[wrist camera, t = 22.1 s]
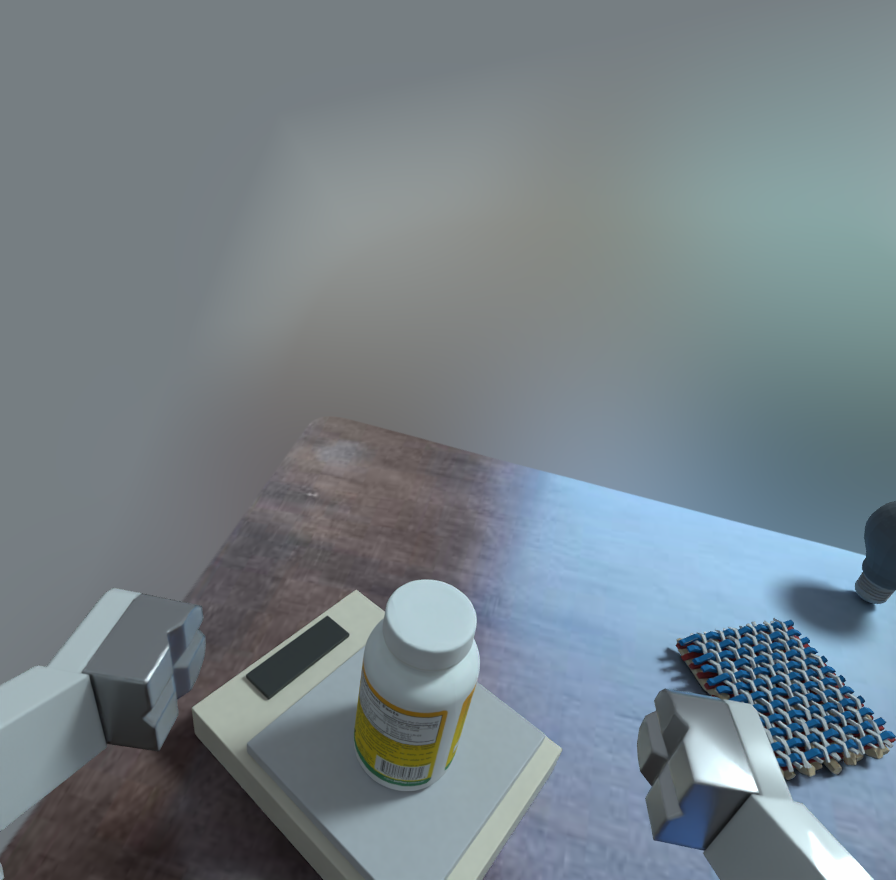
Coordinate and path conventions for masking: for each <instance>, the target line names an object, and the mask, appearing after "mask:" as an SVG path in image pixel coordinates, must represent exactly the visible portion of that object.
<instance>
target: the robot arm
mask: <svg viewBox="0 0 896 880" xmlns="http://www.w3.org/2000/svg"><path fill="white" fill-rule="evenodd" d="M202 621H203V612H202V606H200V605H195V604H190V603H185V602H181V601H176V600H171V599H166V598H161V597H157V596H152V595H147V594H143V593H137V592H132V591H127V590H121V589H116V588H112V589H111V590H109V591H108V592H107V593H105V594H104V595H102V597H101V598H100V599H99V601H98V602H97V603H96V604H95V606H94V607H93V608H92V609H91V611H90V612H89V613H88V614H87V616H86V617H85V618H84V619H83V621H82V622H81V623H80V625H79V626H78V627H77V629H76V630H75V631H74V632H73V633H72V635H71V636H70V637H69V638H68V640H67V641H66V642H65V643H64V645H63V646H62V647H61V649H60V650H59V651H58V652H57V654H56V655H55V656H54V657H53V659H52V660H51V661H50V662H49V664H48V665H47V666H46V667H45V666H38V665H37V666H35V667H33V668H31V669H29V670H27V671H26V672H24V673H22V674H20V675H18V676H16V677H14V678H13V679H11V680H9V681H7V682H5V683H3V684H1V685H0V832H1V831H2V830H3V829H4V828H6V827H7V826H8V825H9V824H11V823H12V822H13V821H15V820H16V819H17V818H18V817H19V816H21V815H22V814H23V813H25V812H26V811H27V810H28V809H30V808H31V807H32V806H33V805H35V804H36V803H37V802H38V801H40V800H41V799H42V798H43V797H45V796H46V795H47V794H49V793H50V792H51V791H52V790H54V789H55V788H56V787H57V786H59V785H60V784H61V783H62V782H64V781H65V780H66V779H67V778H69V777H70V776H71V775H72V774H74V773H75V772H76V771H77V770H79V769H80V768H81V767H83V766H84V765H85V764H86V763H88V762H89V761H90V760H91V759H93V758H94V757H95V756H96V755H98V754H99V753H100V752H101V751H103V750H104V749H105V748H106V747H107V744H112V745H119V746H126V747H132V748H139V749H146V750H152V751H159V750H160V748H161V746H162V745H163V743H164V741H165V739H166V737H167V735H168V733H169V731H170V729H171V727H172V726H173V724H174V722H175V720H176V718H177V716H178V706H177V699H179V698H180V697H182V696H183V695H185V694H186V693H188V692H189V691H191V689H192V687H193V685H194V683H195V681H196V679H197V677H198V675H199V672H200V669H201V666H202V663H203V660H204V654H205V647H206V644H205V636H204V635H203V633H202V632H201V631H200V630H199V629H198V628H199V626H200V624H201V623H202ZM654 702H655V707H656V711H655V712H652V713H650V714H648V715H646V716H645V718H644V720H643V722H642V724H641V726H640V728H639V734H638V741H637V752H638V761H639V767H640V772H641V773H642V774H643V776H644V777H645V778H646V780H647V781H648V782H649V783H650V785H651V786H652V787H651V789H650V790H649V792H648V794H647V796H646V798H645V799H646V804H647V809H648V814H649V819H650V824H651V829H652V835H653V840H656V841H660V842H665V843H670V844H675V845H680V846H684V847H689V848H694V849H699V850H704V853H703V854H704V855H705V857H706V859H707V860H708V862H709V863H710V865H711V866H712V868H713V869H714V871H715V872H716V874H717V876H718V877H719V879H720V880H874V879H873V878H872V877H871V876H870V875H869V874H868V873H867V872H866V871H865V870H864V869H863V868H862V866H861V865H860V864H859V863H858V862H857V861H856V860H855V859H854V858H853V857H852V856H851V855H850V854H849V853H848V852H847V850H846V849H845V848H844V847H843V846H842V845H841V844H840V843H839V842H838V841H837V840H836V839H835V838H834V837H833V835H832V834H831V833H830V832H829V831H828V830H827V829H826V828H825V827H824V826H823V825H822V824H821V823H820V822H819V821H818V819H817V818H816V817H815V816H814V815H813V814H812V813H811V812H810V811H809V810H808V809H807V808H806V807H805V806H804V804H803V803H799V802H795V801H793V799H792V797H791V794H790V792H789V789H788V787H787V784H786V782H785V779H784V777H783V774H782V772H781V769H780V767H779V764H778V762H777V759H776V757H775V754H774V752H773V749H772V747H771V744H770V742H769V739H768V737H767V734H766V732H765V729H764V727H763V724H762V722H761V719H760V717H759V714H758V712H757V710H756V709H755V708H754V707H753V706H752V704H748V703H743V702H737V701H731V700H725V699H720V698H718V697H712V696H706V695H700V694H694V693H688V692H682V691H676V690H670V689H664V690H662V691H660V692H659V693H658V695H657V697H656V698H655V700H654ZM3 878H4V875H3V868H2V865H1V863H0V880H3Z"/></svg>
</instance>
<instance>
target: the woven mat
mask: <svg viewBox="0 0 896 880" xmlns="http://www.w3.org/2000/svg"><path fill="white" fill-rule="evenodd" d="M774 621H775V622H774ZM751 623H752V625H753V626H751V625H750V624H749V623H748V624H747V625H746V626H744V627H742V626H739V627H740V629H739V630H737V629H735V628H731V627H728V628H729V629H727V630H726V629H725V628H724V629H723V632H721V631H719V630H716V631H717V632H718V633H716V632H712V631H710V632H708V633H706V632H704V634H701V633H698V634H693V633H691V634H690V635H691V636H689V637H687V638H684V639H681V638H679V639H677V644H676V647H677V648H678V651H679V652H680V654H681V658H682V660H683V661H685V662H686V664H687V665H688V667H689V668H690V670H691V671H692V673H693V674H694V676H695V677H696V679H697V680H698V682H699V683H700V685H701V686H702V688H703V689H704V690H705V691H706V692H708V693H709V694H710V695H712V697H718V698H720V699H725V700H731V701H737V702H743V703H748V704H752V706H753V707H754V708H755V709H756V710H757V712H758V714H759V717H760V719H761V722H762V724H763V727H764V729H765V732H766V734H767V737H768V739H769V742H770V744H771V747H772V749H773V752H774V754H775V757H776V759H777V762H778V764H779V767H780V769H781V772H782V774H783V777H785V778H786V779H787V780H790V779H792V778H794V777H795V775H796V774H795V773H794V770H793V768H796V769H797V770H798V771H799V772H800V773H802V774H805V775H808V776H813V775H815V770H818V769H821V768H823V767H822V764H821V763H822V762H823V763H824V764H825V766H826V767H827V768H828V769H829V770H830V771H831V772H832V773H834V774H838V773H839V772H840V771H841V770H842V767H841V766H840V765H839V763H838V762H837V761H840V760H841V759H843V760H844V763H845V764H847V765H856V762H857V761H860V760H861V759H862V758H863V755H864V754H865V753H866V754H867V755H868V756H871V757H874V758H877V759H879V758H882V757H883V755H885V754H887V753H888V752H889V751H890V750H889V749H888V748H887V747H886V745H887V746H888V747H890V748H892V747H893V745H892V743H893V742H894V741H895V740H896V739H895V737H896V736H895V735H894V734H893V733H892V732H890V731H884V732H882V733H881V732H880V731H882V730H884V729H885V728H884V727H883V726H882V725H884V724H885V723H886V722H885V721H884V720H883V719H882V718H878V719H876V720H874V721H873V716H872V714H874V712H873V711H872V710H871V709H870V708H866V707H863V706H864V705H863V703H864V702H865V700H864V699H863V698H862V697H861V696H858V697H857V698H856V697H855V696H853V695H852V693H853V692H854V691H853V690H852V689H851V687H847V686H844V685H845V684H844V683H843V682H845V681H846V680H845V678H844V677H843V676H842V675H840V676H839V677H838V676H836V674H835V673H834V672H836V671H835V670H834V669H833V668H832V667H829V666H827V665H826V664H825V663H826V662H827V659H826V658H825V657H824V656H822V657H820V656H816V655H815V654H816V653H818V652H817V651H816V650H815V648H812V647H810V646H809V645H808V643H810V640H809V639H808V638H807V637H805V638H802V639H800V638H799V637H798V636H800V635H802V634H801V633H800V632H799V631H797V630H794V628H793V627H792V626H793V625H794V623H793V621H792V620H789V621H786V622H781V621H779V620H777V619H775V618H773V621H771V624H769V623H768V622H766V621H764V622H763V624H765V625H762V624H759V625H757V624H756V623H755V622H751ZM696 633H697V632H696ZM816 659H817V660H816ZM709 678H711V679H709ZM832 678H833V679H832ZM848 698H851V699H848ZM862 707H863V708H862ZM853 725H854V726H853ZM778 727H779V728H780V729H779V728H778ZM815 734H816V735H815ZM787 739H788V740H787ZM885 744H886V745H885ZM835 759H836V760H837V761H836V760H835Z"/></svg>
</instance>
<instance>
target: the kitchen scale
mask: <svg viewBox="0 0 896 880" xmlns="http://www.w3.org/2000/svg"><path fill="white" fill-rule="evenodd" d="M384 615H385V612H384V611H383V610H382V609H380V608H379V607H378V606H376V605H375V604H374V603H373V602H371V601H370V600H369V599H367V598H366V597H365V596H363V595H362V594H361V593H360V592H358V591H357V590H355V591H354V592H352V593H351V594H349V595H348V596H347V597H345V598H344V599H342V600H341V601H340V602H338V603H337V604H335V605H334V606H333V607H331V608H330V609H329V610H327V611H326V612H324V613H323V614H322V615H320V616H319V617H317V618H316V619H315V620H313V621H312V622H310V623H309V624H308V625H306V626H305V627H303V628H302V629H301V630H299V631H298V632H297V633H295V634H294V635H292V636H291V637H290V638H288V639H287V640H285V641H284V642H283V643H281V644H280V645H278V646H277V647H276V648H274V649H273V650H272V651H270V652H269V653H267V654H266V655H265V656H263V657H262V658H260V659H259V660H258V661H256V662H255V663H253V664H252V665H251V666H249V667H248V668H247V669H245V670H244V671H242V672H241V673H240V674H238V675H237V676H235V677H234V678H233V679H231V680H230V681H228V682H227V683H226V684H224V685H223V686H222V687H220V688H219V689H217V690H216V691H215V692H213V693H212V694H210V695H209V696H208V697H206V698H205V699H203V700H202V701H201V702H199V703H198V704H196V705H195V706H194V707H192V715H193V722H194V730H195V735H196V736H197V737H198V738H199V739H200V740H201V742H202V743H203V744H204V745H205V746H206V747H207V748H208V749H209V751H210V752H211V753H212V754H213V755H214V756H215V757H216V759H217V760H218V761H219V762H220V763H221V764H222V765H223V766H224V768H225V769H226V770H227V771H228V772H229V773H230V774H231V775H232V777H233V778H234V779H235V780H236V781H237V782H238V783H239V785H240V786H241V787H242V788H243V789H244V790H245V791H246V792H247V794H248V795H249V796H250V797H251V798H252V799H253V800H254V802H255V803H256V804H257V805H258V806H259V807H260V808H261V809H262V811H263V812H264V813H265V814H266V815H267V816H268V817H269V819H270V820H271V821H272V822H273V823H274V824H275V825H276V826H277V828H278V829H279V830H280V831H281V832H282V833H283V834H284V835H285V837H286V838H287V839H288V840H289V841H290V842H291V843H292V845H293V846H294V847H295V848H296V849H297V850H298V851H299V852H300V854H301V855H302V856H303V857H304V858H305V859H306V860H307V862H308V863H309V864H310V865H311V866H312V867H313V868H314V869H315V871H316V872H317V873H318V874H319V875H320V876H321V877H322V879H323V880H482V879H483V878H484V876H485V875H486V873H487V871H488V870H489V868H490V867H491V865H492V864H493V862H494V861H495V859H496V858H497V856H498V855H499V853H500V852H501V850H502V849H503V847H504V845H505V844H506V842H507V841H508V839H509V838H510V836H511V835H512V833H513V832H514V830H515V829H516V827H517V826H518V824H519V823H520V821H521V820H522V818H523V816H524V815H525V813H526V812H527V810H528V809H529V807H530V806H531V804H532V803H533V801H534V800H535V798H536V797H537V795H538V794H539V792H540V790H541V789H542V787H543V786H544V784H545V783H546V781H547V780H548V778H549V777H550V775H551V774H552V772H553V770H554V767H555V765H556V763H557V761H558V758H559V756H560V754H561V752H562V748H560V747H559V746H558V745H557V744H555V743H554V742H553V741H551V740H550V739H549V738H547V737H546V736H545V734H544V733H542V732H541V731H540V730H539V729H537V728H536V727H535V726H533V725H532V724H531V723H530V722H528V721H527V720H526V719H524V718H523V717H522V716H520V715H519V714H518V713H517V712H515V711H514V710H513V709H511V708H510V707H509V706H507V705H506V704H505V703H504V702H502V701H501V700H500V699H498V698H497V697H496V696H494V695H493V694H492V693H491V692H489V691H488V690H487V689H485V688H484V687H483V686H482V685H480V684H479V683H478V682H477V683H476V687H475V691H474V693H473V696H472V700H471V703H470V706H469V709H468V713H467V716H466V719H465V723H464V726H463V729H462V733H461V736H460V740H459V743H458V747H457V750H456V753H455V756H454V759H453V761H452V763H451V765H450V767H449V769H448V770H447V772H446V773H445V774H444V775H443V776H442V777H441V778H440V779H439V780H438V781H436V782H435V783H433V784H432V785H430V786H428V787H425V788H423V789H419V790H415V791H398V790H393V789H390V788H387V787H385V786H383V785H381V784H379V783H378V782H376V781H374V780H373V779H372V778H371V777H370V776H369V775H368V774H367V773H366V772H365V770H364V769H363V768H362V766H361V764H360V763H359V761H358V759H357V756H356V753H355V749H354V727H355V720H356V712H357V703H358V696H359V688H360V680H361V671H362V664H363V656H364V650H365V646H366V642H367V640H368V638H369V636H370V634H371V632H372V630H373V629H374V628H375V626H376V625H377V624H378V623H379V622H380V621H381V620H382V619H384Z"/></svg>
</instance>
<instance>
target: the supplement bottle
mask: <svg viewBox="0 0 896 880" xmlns="http://www.w3.org/2000/svg"><path fill="white" fill-rule="evenodd" d="M476 621H477V618H476V613H475V610H474V607H473V605H472V603H471V602H470V600H469V599H468V598H467V597H466V596H465V595H464V594H463V593H462V592H461V591H459V590H458V589H456V588H455V587H453V586H451V585H449V584H447V583H444V582H440V581H436V580H417V581H412V582H409V583H407V584H404V585H403V586H401V587H399V588H398V589H397V590H396V591H395V592H394V593H393V594H392V595H391V597H390V598H389V600H388V602H387V605H386V610H385V615H384V619H382V620H381V621H380V622H379V623H378V624H377V625H376V626H375V628H374V629H373V630H372V632H371V634H370V636H369V638H368V640H367V642H366V646H365V650H364V656H363V664H362V671H361V680H360V688H359V696H358V703H357V712H356V720H355V727H354V749H355V753H356V756H357V759H358V761H359V763H360V764H361V766H362V768H363V769H364V770H365V772H366V773H367V774H368V775H369V776H370V777H371V778H372V779H373V780H374V781H376V782H378V783H379V784H381V785H383V786H385V787H387V788H390V789H393V790H398V791H415V790H419V789H423V788H425V787H428V786H430V785H432V784H433V783H435V782H436V781H438V780H439V779H440V778H441V777H442V776H443V775H444V774H445V773H446V772H447V770H448V769H449V767H450V765H451V763H452V761H453V759H454V756H455V753H456V750H457V747H458V743H459V740H460V736H461V733H462V729H463V726H464V723H465V719H466V716H467V713H468V709H469V706H470V703H471V700H472V696H473V693H474V691H475V687H476V683H477V679H478V675H479V669H480V657H479V651H478V648H477V645H476V642H475V640H474V634H475V630H476Z"/></svg>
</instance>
